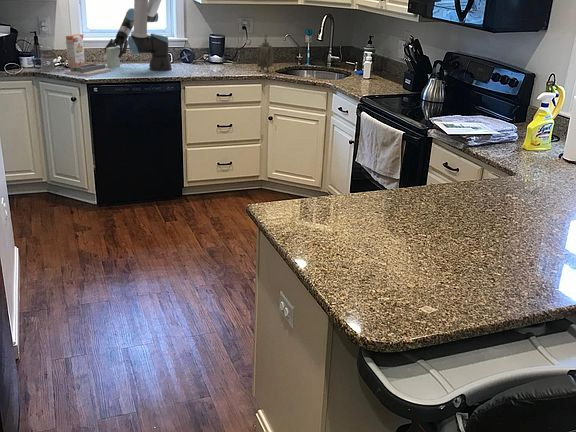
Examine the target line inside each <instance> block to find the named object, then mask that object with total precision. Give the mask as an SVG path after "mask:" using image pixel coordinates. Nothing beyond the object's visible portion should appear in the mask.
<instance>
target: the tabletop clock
mask: <svg viewBox="0 0 576 432" xmlns="http://www.w3.org/2000/svg"><path fill="white" fill-rule="evenodd" d="M267 40H268V35H267V34H266V35H264V41H263V42H262V44H259V45H258V46H257V56H256V58H257V59H256V66H257V68H260V69H259V70H258V72H259V73H262V71H264V70H265V68H266V72H267V73H269V72H270V70H269V68H270V67H272V66H273V65H274V59H275V58H274V56H275V54H274V53H275V48H274V46H272V45H270V44H269V42H268V41H267Z"/></svg>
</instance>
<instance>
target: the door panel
mask: <svg viewBox="0 0 576 432" xmlns="http://www.w3.org/2000/svg"><path fill="white" fill-rule="evenodd" d="M105 52H106V54H107V60H106V65H107V66H106V68H109V69H114V68H118V67H119V68H120V67H121V60H120V59H121V58H120V59H119V61H118V62H116V60H115V59H116V57H117V55H118V52H120V46H116V47H109V48H106V51H105Z"/></svg>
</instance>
